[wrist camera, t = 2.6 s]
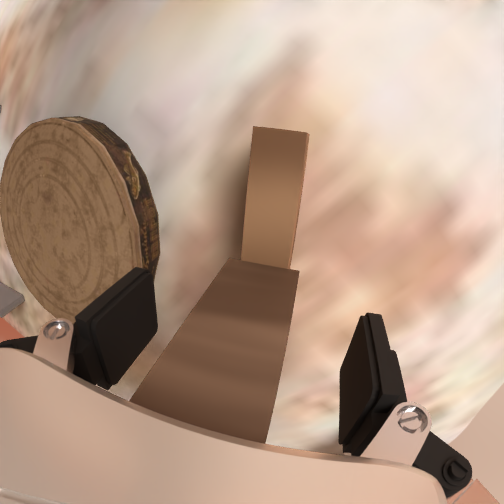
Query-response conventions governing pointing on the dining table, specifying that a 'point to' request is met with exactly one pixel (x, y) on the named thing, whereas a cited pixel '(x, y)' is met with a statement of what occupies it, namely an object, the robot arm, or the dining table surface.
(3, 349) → the robot arm
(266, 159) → the wooden t-shaped block
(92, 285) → the wood log slice
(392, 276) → the dining table surface
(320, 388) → the dining table surface
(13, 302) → the box
